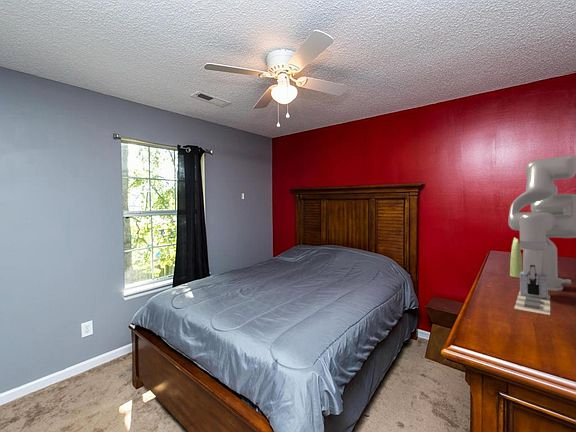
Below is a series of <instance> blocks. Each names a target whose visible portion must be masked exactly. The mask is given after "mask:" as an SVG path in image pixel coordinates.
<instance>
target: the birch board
mask: <svg viewBox="0 0 576 432" xmlns="http://www.w3.org/2000/svg"><path fill="white" fill-rule="evenodd" d="M527 297H531V296H527ZM534 298H539V297H534ZM525 299H526V296H524V295H520V290H519V291H518V295H517V297H516V301H515V305H514V307H513V309H514V310H518V311H525V312H530V313H531V312H532V313H535V314H536V313H537V314H542V315H549V316H551V295H550V294H548V299H546V298H541V303H540V309H535V308H529V307H524V303H525Z"/></svg>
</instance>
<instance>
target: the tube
mask: <svg viewBox="0 0 576 432" xmlns="http://www.w3.org/2000/svg"><path fill="white" fill-rule="evenodd" d="M521 250H522V249H520V240H519V239H518V238H516V237H513V240H512V244H511V251H510V252H511V253H510V261H509V264H510V266H509V276H510V277H513V278H518V279H520V273H521V272H523V257H522V252H521Z"/></svg>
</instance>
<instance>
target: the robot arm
mask: <svg viewBox="0 0 576 432" xmlns="http://www.w3.org/2000/svg"><path fill="white" fill-rule="evenodd" d="M524 169H525V170H524V171H525V175H526V186H525V191H524V192H523V193H521V194H519V196H518V197H516V198H515V199H514V200H513V201H512V203H511V205H510V208H509V212H508V217H507V218H508V221H507V222H508V226H509V227H510V229H511V230H513V231H519V244H520V250H522V251H523V252H522V253H523V254H522V271H523V275H524V276H525V275H527V274H528V294H532V295H539V285H538V277H540V274H541V273H543V274H547V276H548V291H556V292H561V291H563V289H564V286H562V285H563V284H564V285H565V284H566V285H571V284H572V280H571V279H564V278H561V277H558V248H557V246H556V244H555V243H554V242H553V241H552V240H551V239H550V238H562V239H573V238H574V239H575V238H576V193H575V194H574V193H559V194H558V186H557V185H556V184H555V183H554V181H556V180H569V179H572V178H574V177H575V175H576V156H575V155H564V156H557V157H556V156H555V157H548V158H541V159H535V160H532V161H530V162H528V163H527V164H526V165H525V168H524ZM529 205H530V211H527V212H524V211H523V212H520V211H521V210H522V209H524V208H525V207H527V206H529ZM536 274H537V276H535V275H536Z"/></svg>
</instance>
